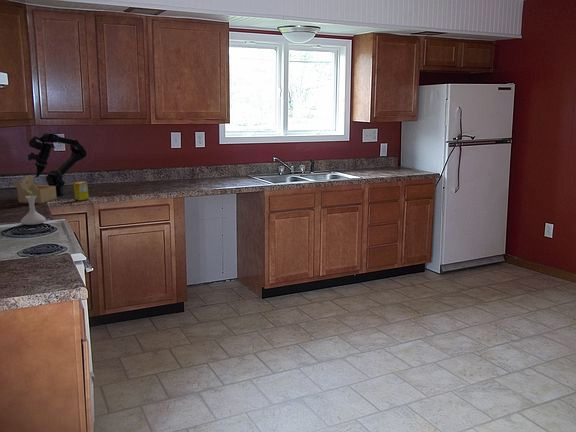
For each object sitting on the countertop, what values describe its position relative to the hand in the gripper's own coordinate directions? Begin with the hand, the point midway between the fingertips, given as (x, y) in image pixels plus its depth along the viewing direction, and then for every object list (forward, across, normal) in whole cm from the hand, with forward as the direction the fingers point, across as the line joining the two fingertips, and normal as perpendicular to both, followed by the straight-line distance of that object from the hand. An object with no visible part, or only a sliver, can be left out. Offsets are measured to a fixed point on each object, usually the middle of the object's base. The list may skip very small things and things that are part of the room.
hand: (36, 177), depth 341 cm
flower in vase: (+30, +66, +4) cm, 73 cm away
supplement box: (+7, +13, +27) cm, 31 cm away
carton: (+14, +3, +4) cm, 15 cm away
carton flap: (+8, +12, -5) cm, 15 cm away
